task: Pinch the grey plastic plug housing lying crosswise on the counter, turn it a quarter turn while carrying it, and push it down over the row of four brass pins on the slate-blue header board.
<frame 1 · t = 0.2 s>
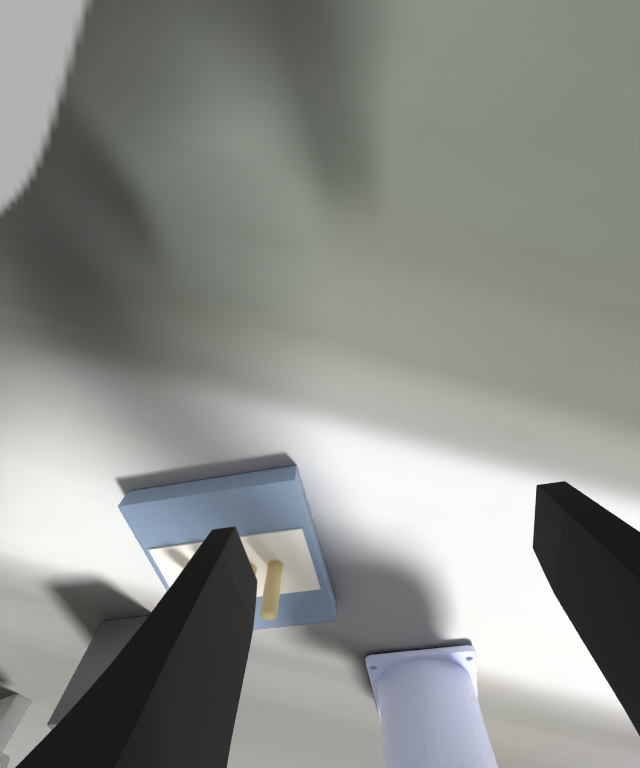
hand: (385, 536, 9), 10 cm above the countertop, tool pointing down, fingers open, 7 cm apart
plug housing: (149, 650, 29), on the countertop
header board: (241, 552, 24), on the countertop
lighter: (22, 696, 33), on the countertop
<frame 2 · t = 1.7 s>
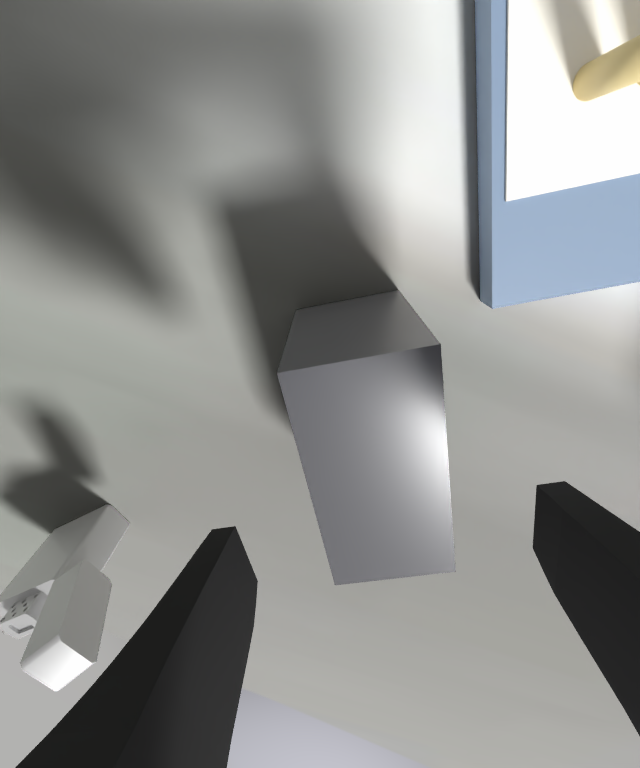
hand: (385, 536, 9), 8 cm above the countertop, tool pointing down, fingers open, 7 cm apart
plug housing: (362, 391, 16), on the countertop
lighter: (114, 515, 20), on the countertop
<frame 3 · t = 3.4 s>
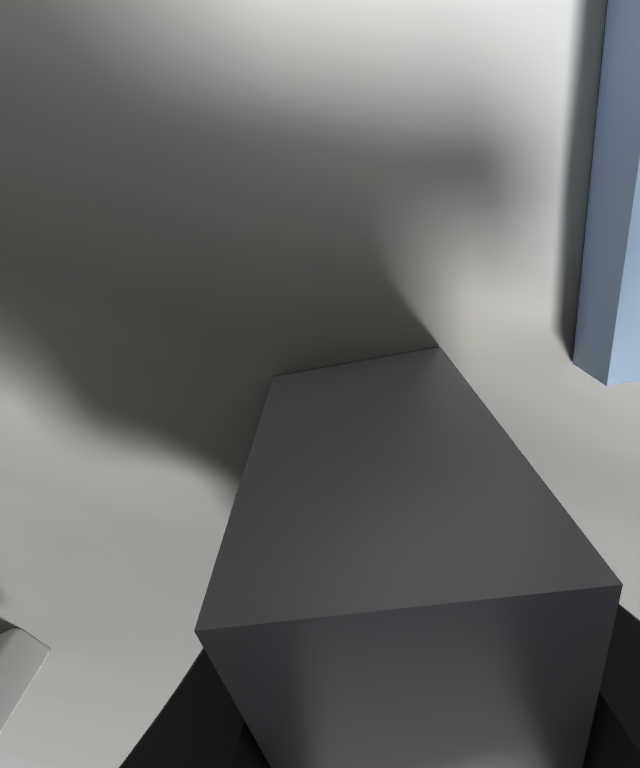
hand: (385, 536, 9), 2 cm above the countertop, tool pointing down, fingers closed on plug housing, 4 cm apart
plug housing: (377, 490, 11), on the countertop, touching gripper
lighter: (28, 637, 14), on the countertop
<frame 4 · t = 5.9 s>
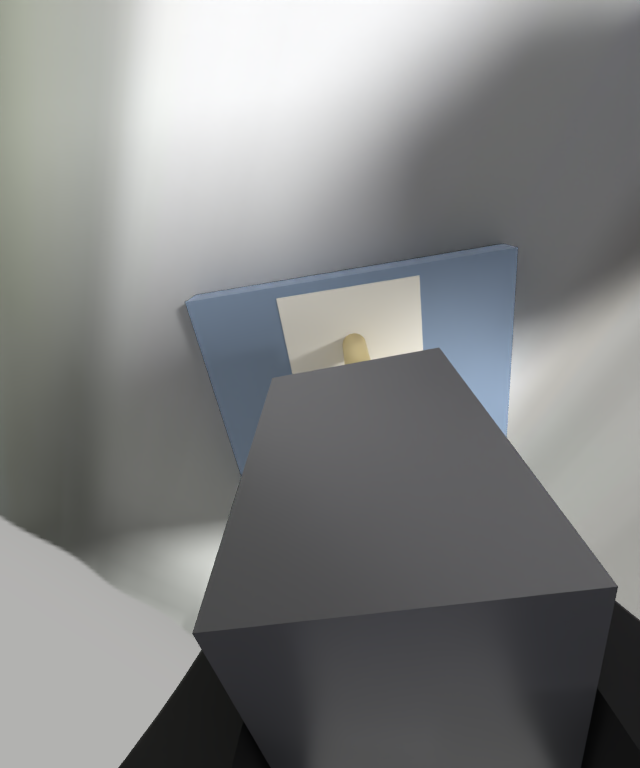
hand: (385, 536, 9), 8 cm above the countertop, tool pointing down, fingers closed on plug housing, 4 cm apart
plug housing: (377, 491, 11), point 7 cm above the countertop, touching gripper
header board: (359, 384, 17), on the countertop
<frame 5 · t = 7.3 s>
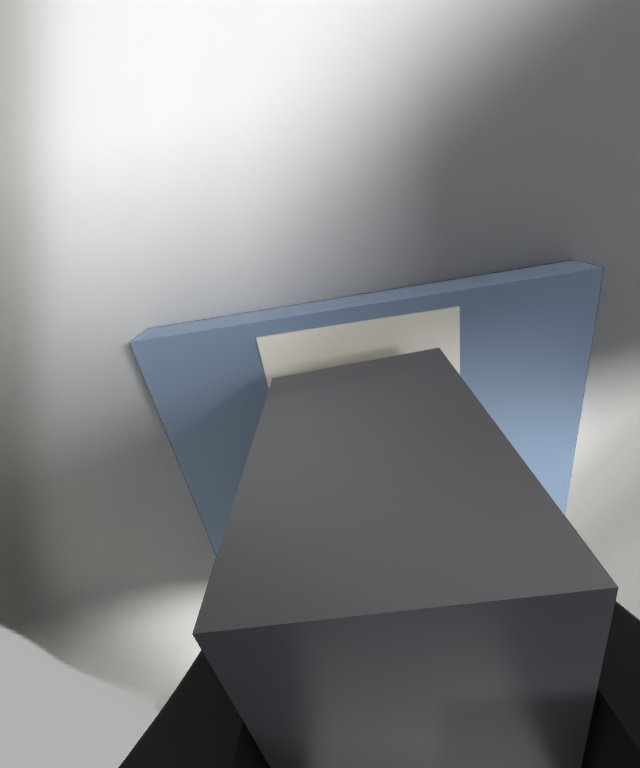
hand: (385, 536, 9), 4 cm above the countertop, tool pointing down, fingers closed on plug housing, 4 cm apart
plug housing: (377, 491, 11), point 2 cm above the countertop, touching gripper
header board: (369, 442, 13), on the countertop
when the fingers open (3 cm above the countertop, at t = 8.6 s): plug housing stays where it is, resting on header board.
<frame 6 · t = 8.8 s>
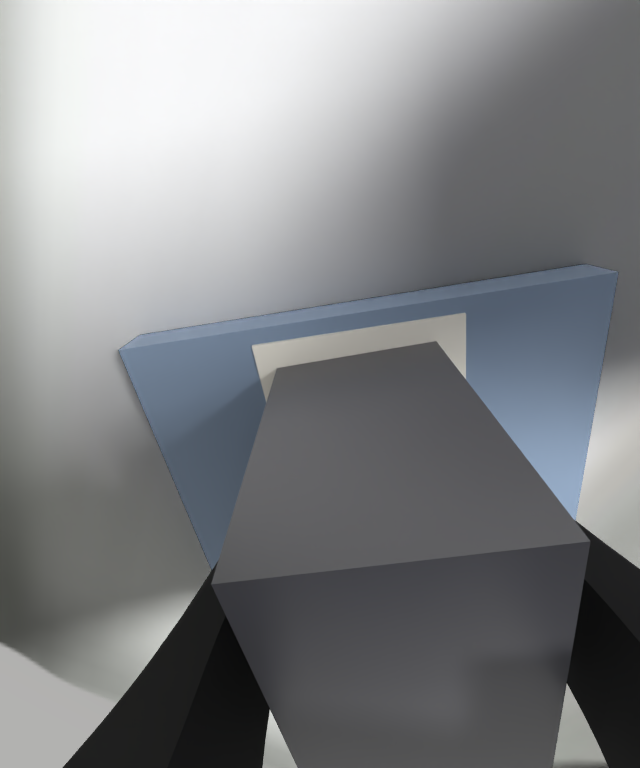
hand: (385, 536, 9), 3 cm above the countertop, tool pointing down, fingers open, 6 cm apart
plug housing: (374, 479, 11), point 1 cm above the countertop, touching header board
header board: (370, 452, 12), on the countertop
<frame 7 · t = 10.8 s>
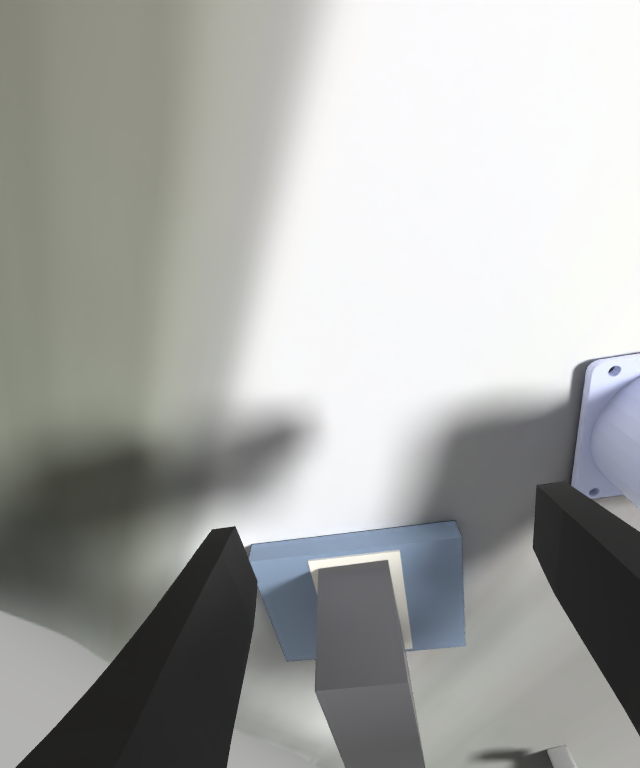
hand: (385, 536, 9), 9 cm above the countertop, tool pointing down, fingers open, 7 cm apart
plug housing: (363, 608, 23), point 1 cm above the countertop, touching header board
header board: (362, 588, 24), on the countertop
lighter: (556, 747, 33), on the countertop
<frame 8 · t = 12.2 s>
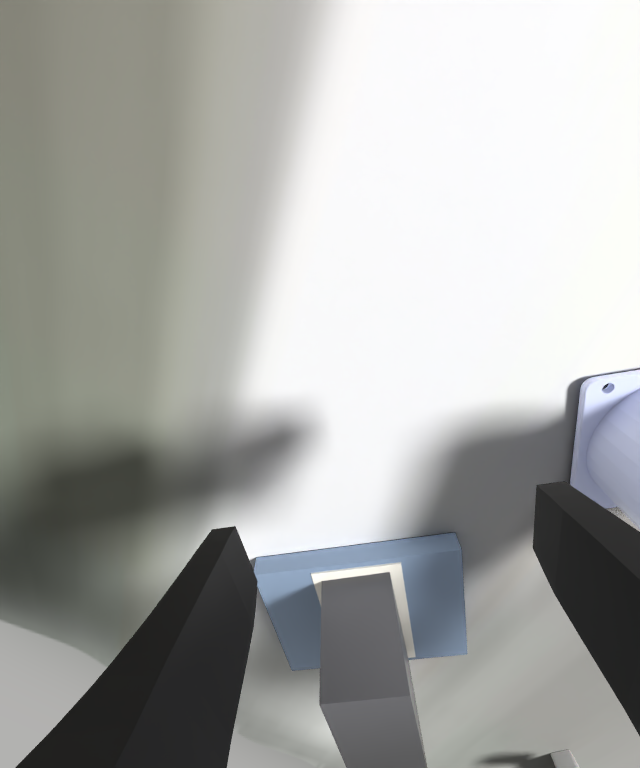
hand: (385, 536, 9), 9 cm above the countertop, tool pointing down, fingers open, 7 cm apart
plug housing: (366, 619, 23), point 1 cm above the countertop, touching header board
header board: (365, 599, 25), on the countertop
lighter: (560, 751, 34), on the countertop
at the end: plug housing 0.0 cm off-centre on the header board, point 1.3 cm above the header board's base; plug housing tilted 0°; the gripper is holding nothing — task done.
